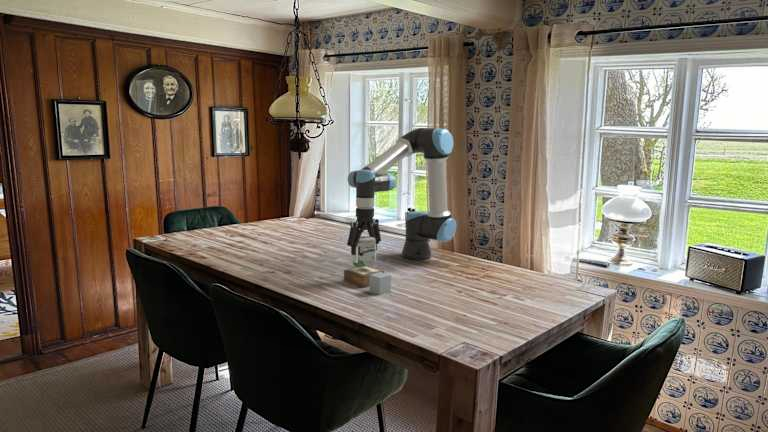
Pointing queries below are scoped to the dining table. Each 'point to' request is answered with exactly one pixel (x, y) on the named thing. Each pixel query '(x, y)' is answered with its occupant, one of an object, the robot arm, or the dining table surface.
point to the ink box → (366, 252)
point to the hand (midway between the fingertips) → (364, 260)
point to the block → (380, 283)
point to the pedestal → (359, 275)
